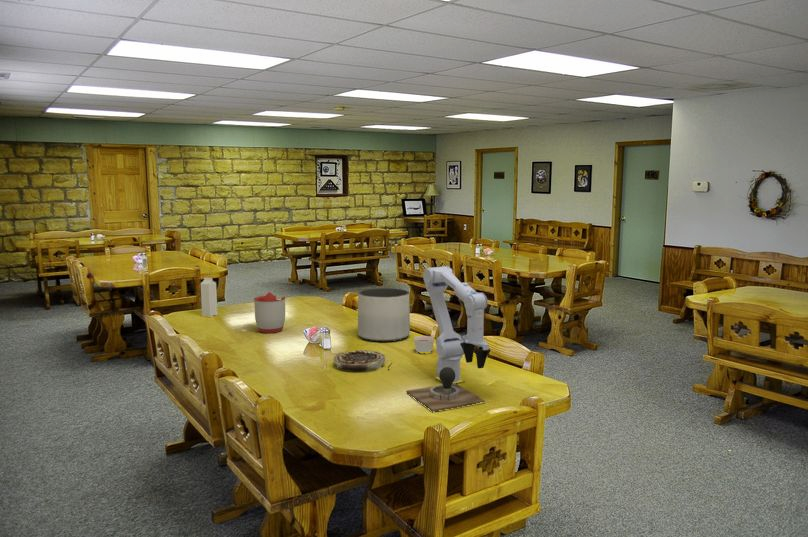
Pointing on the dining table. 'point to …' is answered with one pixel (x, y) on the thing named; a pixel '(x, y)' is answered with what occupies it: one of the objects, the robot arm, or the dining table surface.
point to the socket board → (436, 405)
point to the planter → (383, 314)
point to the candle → (423, 343)
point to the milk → (208, 297)
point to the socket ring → (444, 397)
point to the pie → (359, 360)
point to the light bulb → (447, 379)
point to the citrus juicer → (269, 313)
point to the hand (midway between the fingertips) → (474, 365)
